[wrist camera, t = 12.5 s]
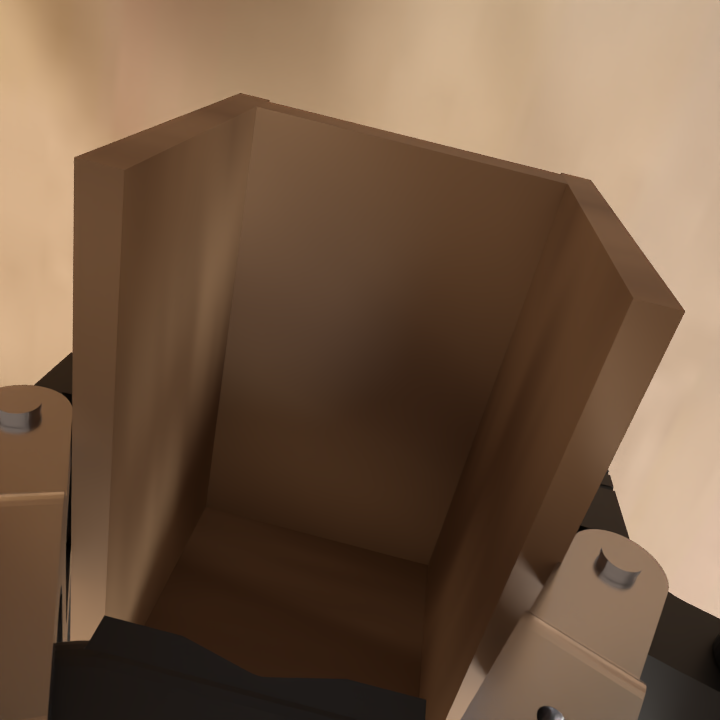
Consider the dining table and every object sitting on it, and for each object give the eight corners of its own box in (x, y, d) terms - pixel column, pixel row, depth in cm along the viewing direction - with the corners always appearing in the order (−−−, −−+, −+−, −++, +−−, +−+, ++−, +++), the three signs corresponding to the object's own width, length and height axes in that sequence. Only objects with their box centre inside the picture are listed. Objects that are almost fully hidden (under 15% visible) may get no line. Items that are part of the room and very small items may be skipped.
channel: (444, 566, 16) (435, 819, 11) (191, 500, 16) (69, 721, 11) (591, 180, 11) (685, 310, 6) (240, 92, 11) (73, 157, 7)
